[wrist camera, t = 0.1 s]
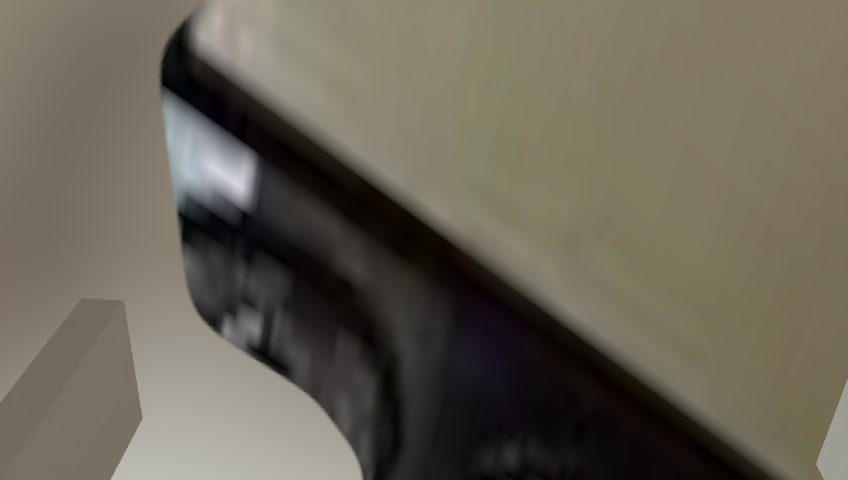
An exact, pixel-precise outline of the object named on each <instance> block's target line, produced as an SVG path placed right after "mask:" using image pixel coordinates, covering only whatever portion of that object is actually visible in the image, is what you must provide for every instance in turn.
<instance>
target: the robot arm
mask: <svg viewBox="0 0 848 480" xmlns="http://www.w3.org/2000/svg"><path fill="white" fill-rule="evenodd" d="M141 421H142V413H141V407H140V401H139V394H138V388H137V382H136V376H135V369H134V363H133V358H132V351H131V344H130V338H129V332H128V325H127V319H126V313H125V307H124V301H118V300H102V299H87V298H81V300H80V301H79V302H78V303H77V305H76V306H75V307H74V309H73V310H72V311H71V312H70V314H69V315H68V316H67V318H66V319H65V320H64V321H63V323H62V324H61V325H60V326H59V328H58V329H57V330H56V332H55V333H54V334H53V336H52V337H51V338H50V339H49V341H48V342H47V343H46V344H45V346H44V347H43V348H42V350H41V351H40V352H39V353H38V355H37V356H36V357H35V359H34V360H33V361H32V363H31V364H30V365H29V366H28V368H27V369H26V370H25V372H24V373H23V374H22V375H21V377H20V378H19V379H18V381H17V382H16V383H15V384H14V386H13V387H12V388H11V390H10V391H9V392H8V393H7V395H6V396H5V397H4V399H3V400H2V401H1V402H0V480H110V479H111V477H112V476H113V474H114V472H115V470H116V468H117V466H118V464H119V462H120V460H121V458H122V456H123V455H124V452H125V451H126V449H127V447H128V445H129V443H130V441H131V439H132V438H133V436H134V434H135V432H136V430H137V428H138V426H139V424H140V422H141ZM816 465H817V467H818V468H819V470H820V472H821V474H822V476H823V478H824V480H848V380H847V383H846V385H845V388H844V391H843V393H842V396H841V399H840V401H839V404H838V407H837V410H836V412H835V415H834V418H833V420H832V423H831V426H830V428H829V431H828V434H827V436H826V439H825V442H824V444H823V447H822V450H821V453H820V455H819V458H818V461H817V463H816Z"/></svg>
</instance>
